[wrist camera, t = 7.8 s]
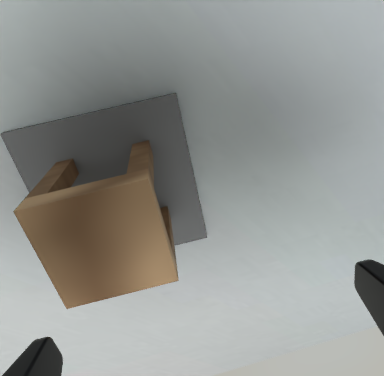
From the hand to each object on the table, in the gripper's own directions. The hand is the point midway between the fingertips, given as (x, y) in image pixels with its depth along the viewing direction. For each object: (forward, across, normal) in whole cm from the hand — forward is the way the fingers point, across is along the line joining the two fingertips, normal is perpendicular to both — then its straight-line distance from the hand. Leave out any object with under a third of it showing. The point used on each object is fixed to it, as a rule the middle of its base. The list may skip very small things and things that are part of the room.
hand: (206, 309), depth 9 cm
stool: (+11, +4, 0) cm, 12 cm away
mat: (+11, +4, 0) cm, 12 cm away
